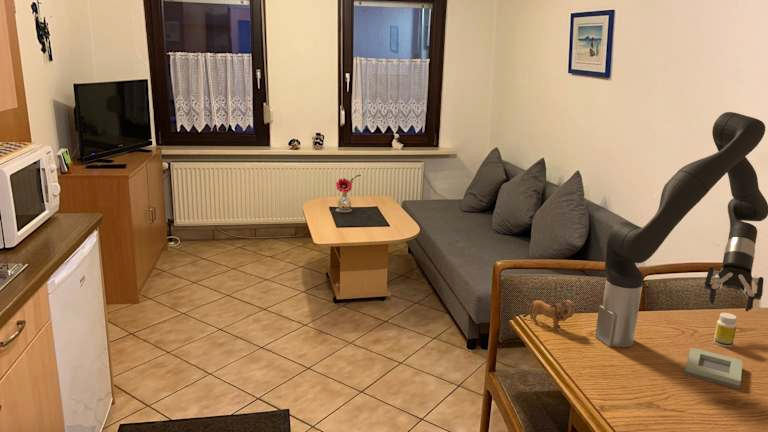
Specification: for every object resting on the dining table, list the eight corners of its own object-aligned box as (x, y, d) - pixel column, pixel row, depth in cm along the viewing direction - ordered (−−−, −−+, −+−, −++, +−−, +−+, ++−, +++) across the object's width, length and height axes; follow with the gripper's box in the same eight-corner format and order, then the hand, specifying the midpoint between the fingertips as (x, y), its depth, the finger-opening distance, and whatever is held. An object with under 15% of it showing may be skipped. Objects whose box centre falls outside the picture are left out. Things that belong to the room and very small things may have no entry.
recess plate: (739, 389, 148) (740, 381, 147) (684, 374, 153) (685, 366, 153) (740, 367, 158) (742, 360, 157) (689, 354, 163) (690, 347, 163)
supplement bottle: (734, 348, 168) (740, 320, 165) (716, 346, 168) (721, 318, 166) (729, 340, 172) (734, 313, 170) (710, 338, 173) (716, 311, 171)
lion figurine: (574, 328, 177) (578, 299, 174) (569, 335, 172) (573, 305, 170) (525, 315, 184) (527, 287, 181) (519, 321, 180) (521, 293, 177)
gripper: (712, 245, 178) (702, 295, 172) (769, 255, 171) (760, 307, 165) (710, 257, 184) (700, 306, 178) (765, 267, 177) (757, 318, 171)
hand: (729, 306), depth 172 cm, fingers open, 8 cm apart
